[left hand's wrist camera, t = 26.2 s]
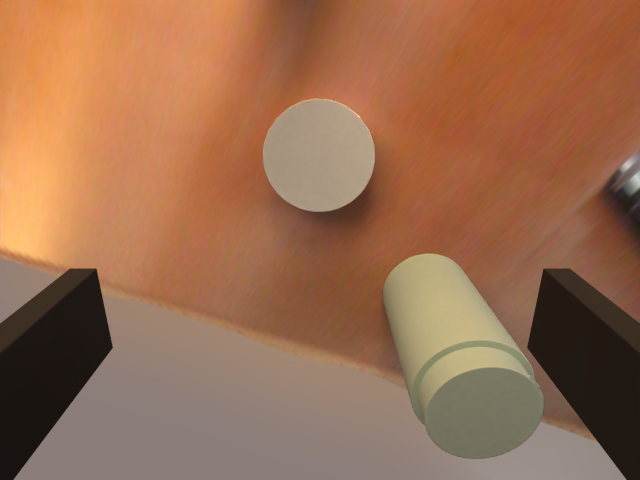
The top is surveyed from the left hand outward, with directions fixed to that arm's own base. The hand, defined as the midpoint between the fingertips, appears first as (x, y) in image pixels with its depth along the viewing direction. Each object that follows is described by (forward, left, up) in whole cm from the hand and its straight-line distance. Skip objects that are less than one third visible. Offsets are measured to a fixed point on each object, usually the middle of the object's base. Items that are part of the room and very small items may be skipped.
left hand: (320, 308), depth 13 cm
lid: (0, 0, -25) cm, 25 cm away
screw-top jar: (-3, +17, -27) cm, 32 cm away
